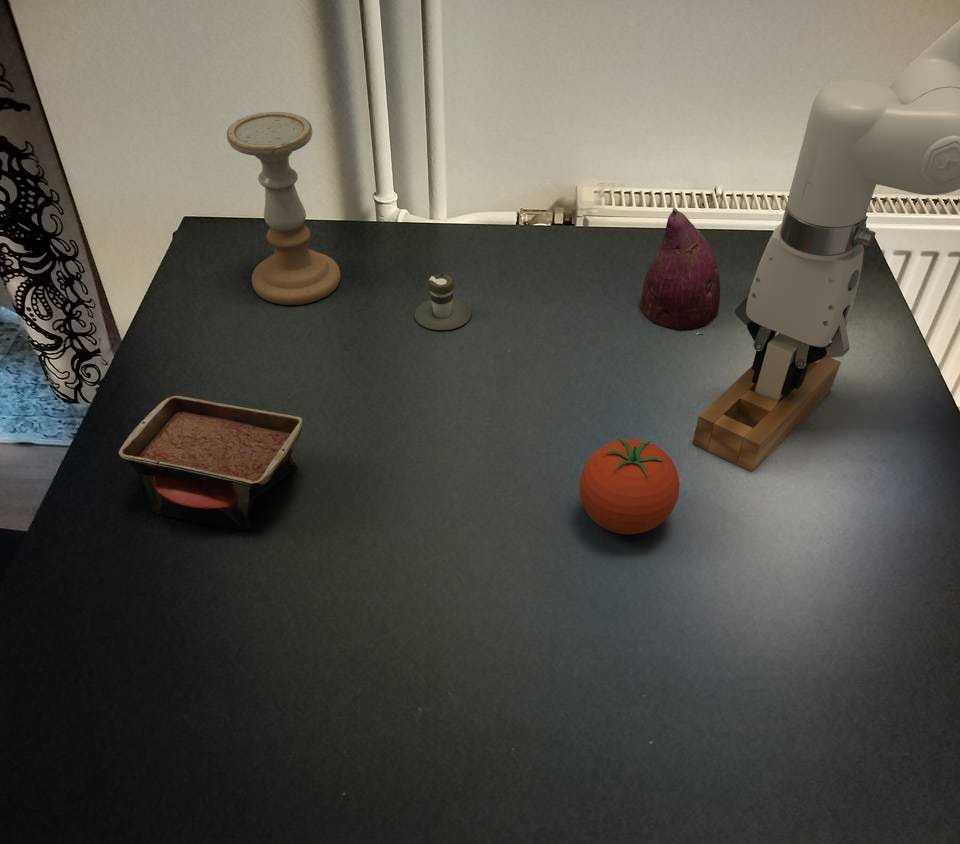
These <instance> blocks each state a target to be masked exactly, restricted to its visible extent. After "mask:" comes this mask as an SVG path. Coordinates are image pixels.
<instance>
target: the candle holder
mask: <svg viewBox="0 0 960 844" xmlns="http://www.w3.org/2000/svg"><path fill="white" fill-rule="evenodd" d="M312 137H313V127H312V124H311V122H310V121H309V120H308V119H306V118H305V117H304V116H301V115H299V114H296V113H292V112H286V111H267V112H265V111H264V112H258V113H254V114H250V115H247V116H244V117H242V118H240V119H238V120H236V121H234V122H233V123H232V124H230V126H229V127H228V129H227V131H226V139H227V143H228V144H229V146H230V147H231V148H232V149H233V150H234V151H236V152H238V153H241V154H243V155H248V156H254V157H255V158H256V159H258V160H259V162H260V163H261V171H260V172H259V174H258V177H257V181H258V183H259V184H260V185H261V186H262V187H264V210H263V219H264V221H265V224H266V225H267V226H268V227H269V229H268V230H267V232H266V240H267V242H268V243H269V244H270V245H271V246H272V247H273V251H274V253H273V254H271V255H270V256H268V257H267V258H265V259H264V260H262V261H261V262H260V263H259V264H257V266H256V267H255V268H254V270H253V272H252V275H251V284H252V288H253V290H254V292H255V293H256V294H257V295H258V296H259V298H261V299H263V300H265V301H267V302H269V303H272V304H276V305H282V306H299V305H307V304H311V303H314V302H317V301H320V300H322V299H324V298H326V297H328V296H329V295H331V294H332V293H333V292H335V290H337V288H338V286H339V285H340V283H341V276H342V275H341V270H340V267H339V265H338V264H337V262H336V261H335V260H334V259H333V258H332V257H330V256H328V255H326V254H324V253H321V252H319V251H315V250H313V249H309V247H308V242H309V240H310V239H311V235H312V233H311V230H310V228H309V227H308V226H307V225H306V224H304V223H305V221H306V219H307V212H306V209H305V207H304V205H303V203H302V201H301V199H300V196H299V194H298V192H297V189H296V185H295V184H296V183H297V181H298V180H299V179H298V178H299V175H298V172H296V170H295V169H293V168H292V167H291V165H290V156H291V155H292V154H293V153H294V152H295V151H298V150H300V149H302V148H303V147H305V146H306V145H308V144H309V143H310V141H311V140H312Z"/></svg>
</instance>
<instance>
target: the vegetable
mask: <svg viewBox="0 0 960 844" xmlns="http://www.w3.org/2000/svg"><path fill="white" fill-rule="evenodd" d="M720 302H721V280H720V272H719V269H718V263H717V259H716V256H715V254H714V252H713V250H712V248H711V246H710V244H709V242H708V240H707V239H706V237H705V236H704V235H703V234H702V233H701V231H700V230H699V229H697V227H695V225H694V224H693V222H692V221H690V219H688V217H687V216H686V215H685V214H684V213H683V212H681V211H679V210H678V209H677V208H676V207H673V208H672V212H671V213H670V214H669V216H668V218H667V221H666V225H665V232H664V234H663V239H662V241H661V244H660V246H659V248H658V249H657V250H656V253H655V255H654V256H653V259H652V260H651V263H650V266H649V267H648V270H647V272H646V275H645V277H644V281H643V286H642V292H641V299H640V303H639V308H640V310H641V312H642V313H643V314H644V315H645V316H646V318H647V319H649V320H650V321H651V322H653V323H654V324H656V325H659V326H662V327H666V328H670V329H673V330H677V331H679V330H682V331H683V330H684V331H685V330H692V329H697V328H701V327H705V326H707V325H709V323H711V322H712V321H713V320H714V319H715V318H716V317H717V315H718V314H719V309H720Z"/></svg>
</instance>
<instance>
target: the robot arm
mask: <svg viewBox="0 0 960 844" xmlns="http://www.w3.org/2000/svg"><path fill="white" fill-rule="evenodd" d="M802 138H803V139H802V143H801V147H800V151H799V155H798V158H797V163H796V167H795V170H794V174H793V177H792V181H791V186H790V189H789V193H788V197H787V202H786V205H785V208H784V212H783V217H782V220H781V223H780V224H778V226H777V227H775V229H774V230H773V231H772V234H771V235H770V238H769V240H768V242H767V244H766V246H765V249H764V251H763V253H762V256H761V259H760V261H759V264H758V266H757V269H756V271H755V274H754V277H753V280H752V283H751V286H750V289H749V293H748V296H746V298H744V300H743V301H742V302H741V303H740V304H739V305H738V306H737V307H736V308H735V310H734V314H735V316H736V317H737V318H738V319H739V320H740V321H741V322H742V323H743V324H744V325H746V329H747V331H748V333H749V334H750V336H751V338H752V340H753V341H754V342H753V345H752V347H753V349H754V350H755V354H754V359H753V362H752V365H751V366H752V370H753V371H754V374H753V378H752V382H753V383H755V384H757V382H758V379H759V375H760V371H761V368H762V364H763V360H764V357H765V353H766V350H767V346H768V343H769V342H770V341H771V340H772V339H773V338H774V337H775V336H776V335H777V334H779V333H781V334H783V335H786V336H788V337H791V338H793V339H796V340H799V344H798V349H797V354H796V358H795V360H794V362H793V363H792V364H791V365H790V366H789V368H788V371H787V375H786V378H785V381H784V384H783V388H782V391H781V393H782V395H783V396H785V397H786V396H787V395H788V394H789V393H790V392H791V391H792V390H793V389H794V388H796V389H798V388H799V387H800V386H801V385H802V383H803V381H804V378H805V375H806V372H807V369H808V366H809V364H811V363H813V362H816V361H818V360H821V359H823V358H827V357H828V358H833V359H834V358H842V357H844V356H845V355H846V354H847V353H848V351H849V350H850V349H851V348H850V347H851V346H850V342H849V335H848V330H847V325H848V323H849V320H850V318H851V314H852V311H853V308H854V303H855V300H856V296H857V292H858V287H859V283H860V278H861V273H862V267H863V261H864V251H865V247H864V245H865V246H867V247H870V246H871V244H872V243H873V242H874V239H875V237H876V231H874V230H870V228H869V227H867V221H868V215H867V213H868V210H869V207H870V204H871V201H872V199H873V195H874V193H875V189H876V187H877V186H883V187H887V188H891V189H896V190H899V191H903V192H907V193H912V194H917V195H921V196H922V195H923V196H941V195H947V194H951V193H953V192H955V191H959V190H960V20H958V21H957V22H955V24H953V25H952V26H951V27H949V29H947V30H946V31H945V32H944V33H943V34H942V35H940V36H939V37H938V38H937V39H936V40H934V41H933V42H932V43H931V44H930V45H929V46H928V47H926V48H925V49H924V50H923V51H922V52H921V53H920V54H918V56H916V57H915V58H914V59H913V60H912V61H911V62H910V63H908V65H907V66H906V67H905V68H904V69H903V70H902V71H901V72H900V74H899V75H898V76H897V78H895V80H894V81H893V82H892V84H891V85H890V87H888V86H886V85H885V84H882V83H881V82H880V83H879V82H876V81H873V80H868V79H860V78H851V79H850V78H848V79H840V80H835V81H833V82H831V83H829V84H827V85H825V86H824V87H823V88H821V90H819V92H818V93H817V95H816V96H815V98H814V100H813V102H812V105H811V107H810V111H809V115H808V119H807V123H806V128H805V131H804V135H803V137H802Z"/></svg>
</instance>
